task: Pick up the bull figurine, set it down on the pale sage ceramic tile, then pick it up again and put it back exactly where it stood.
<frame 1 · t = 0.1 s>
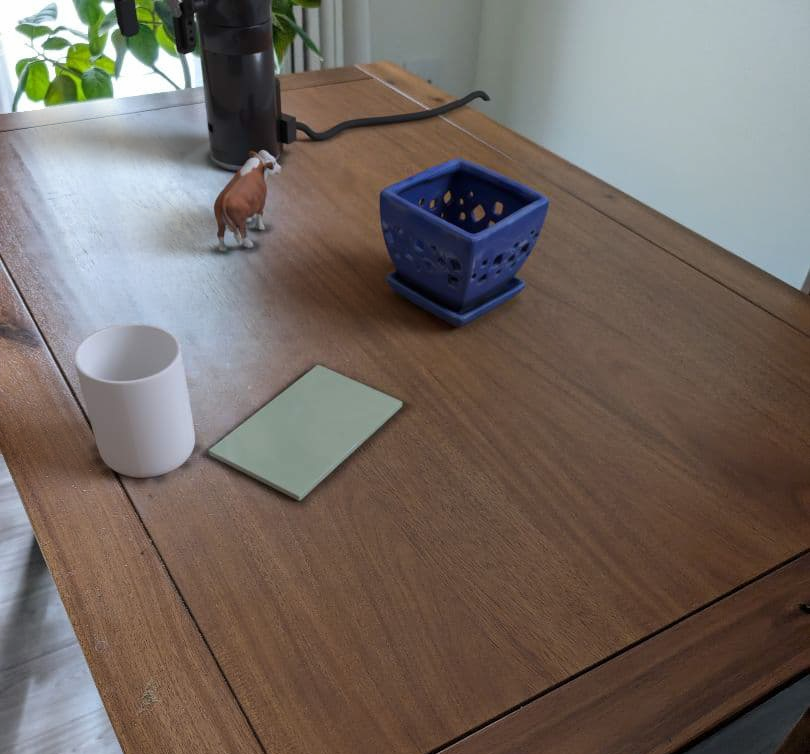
hand: (158, 43, 97), 17 cm above the table, tool pointing down, fingers open, 8 cm apart
cup: (151, 436, 77), on the table
bull figurine: (249, 235, 103), on the table
tile: (309, 429, 79), on the table
flower pot: (454, 298, 96), on the table
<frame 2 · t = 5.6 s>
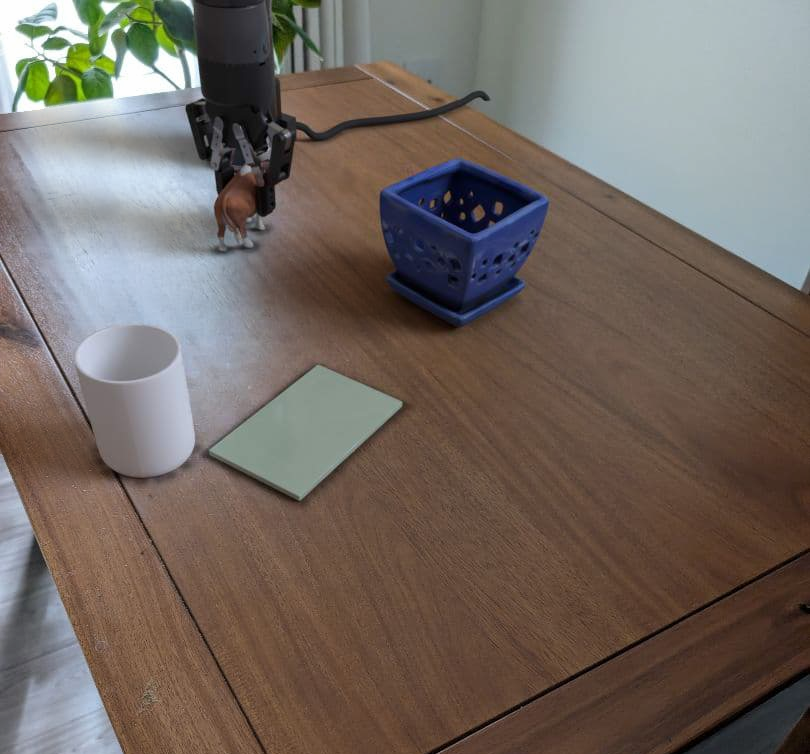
hand: (246, 206, 101), 3 cm above the table, tool pointing down, fingers closed on bull figurine, 5 cm apart
bull figurine: (249, 235, 103), on the table, touching gripper
everything else where it was.
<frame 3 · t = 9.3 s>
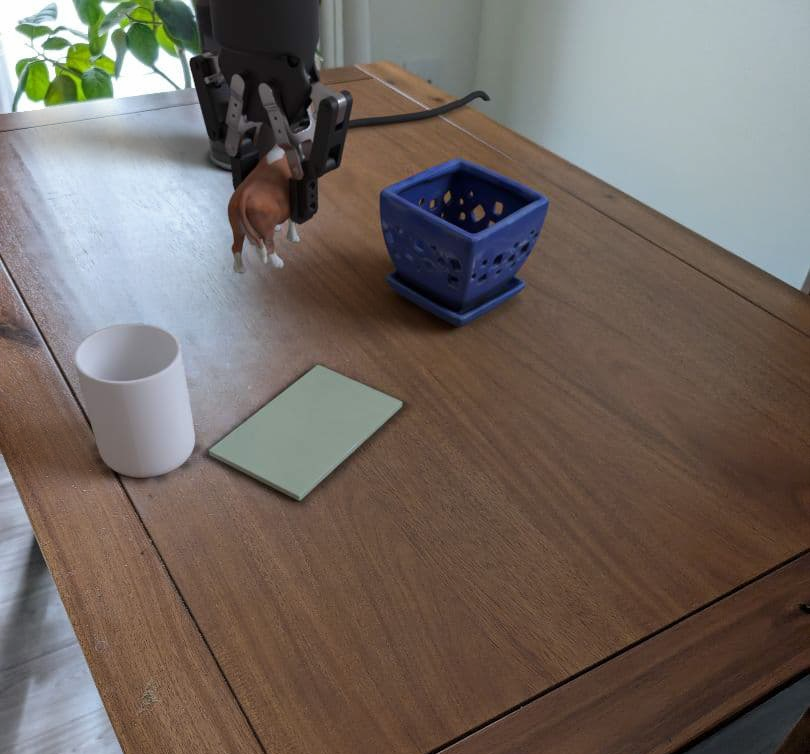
hand: (275, 208, 70), 18 cm above the table, tool pointing down, fingers closed on bull figurine, 5 cm apart
bull figurine: (277, 249, 72), point 14 cm above the table, touching gripper
everything else where it was.
when the fingers open (4 cm above the table, at t = 13.4 s): bull figurine stays where it is, resting on tile.
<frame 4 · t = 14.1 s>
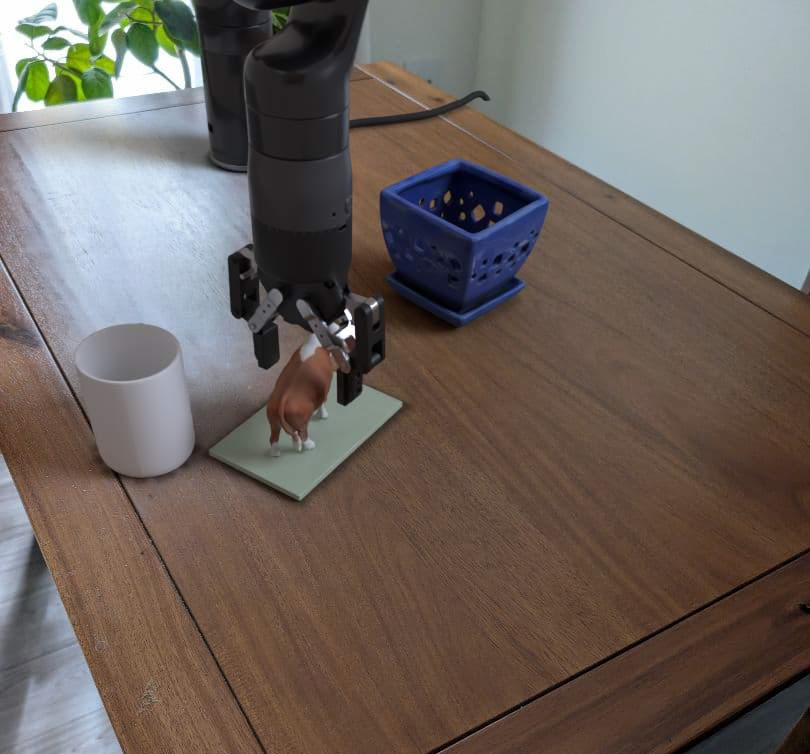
hand: (308, 382, 75), 5 cm above the table, tool pointing down, fingers open, 8 cm apart
bull figurine: (308, 426, 79), resting on tile
everything else where it was.
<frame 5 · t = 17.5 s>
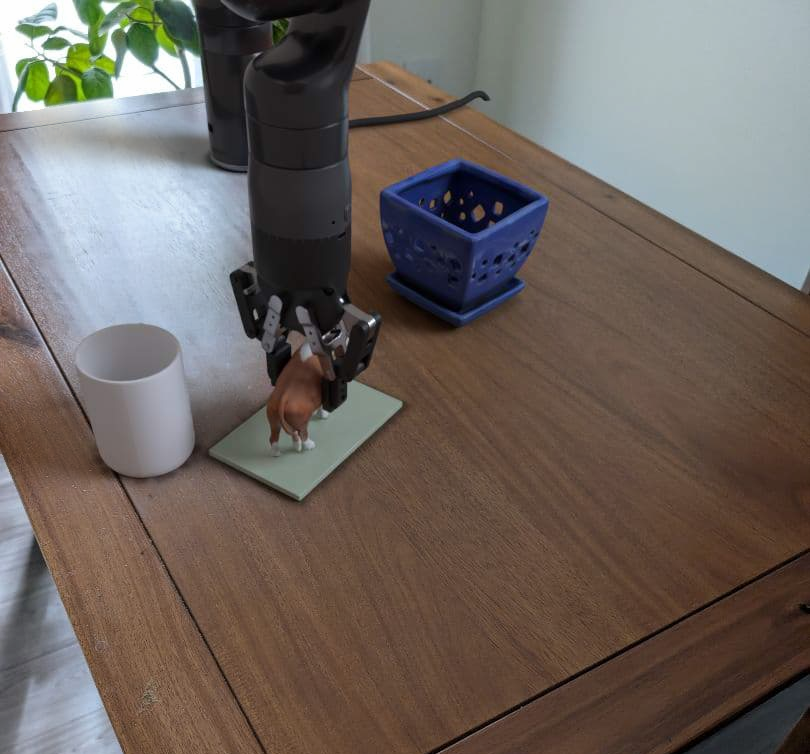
hand: (307, 394, 76), 4 cm above the table, tool pointing down, fingers closed on bull figurine, 5 cm apart
bull figurine: (308, 426, 79), resting on tile, touching gripper
everything else where it was.
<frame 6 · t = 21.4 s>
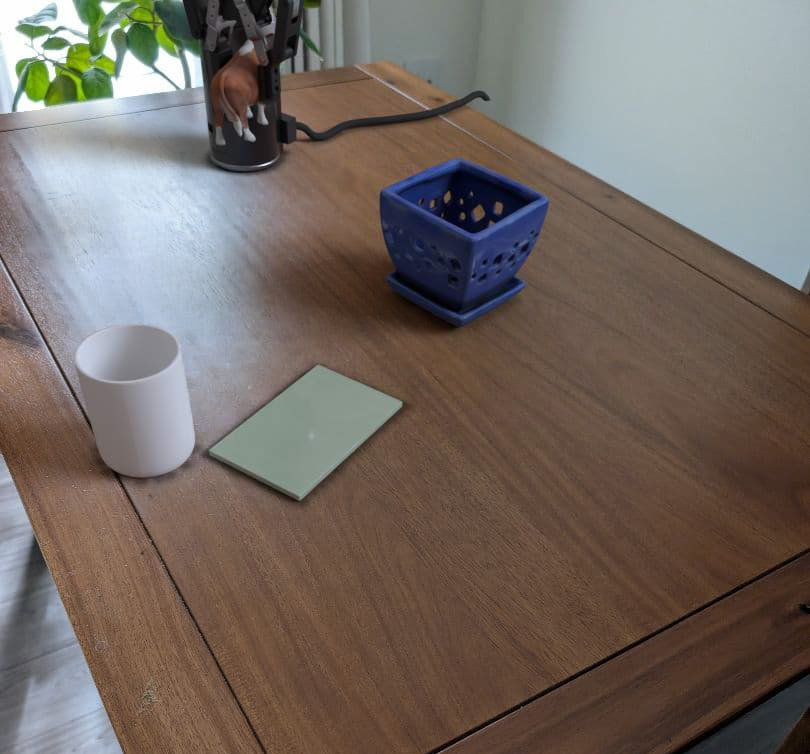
hand: (247, 94, 88), 17 cm above the table, tool pointing down, fingers closed on bull figurine, 5 cm apart
bull figurine: (250, 130, 91), point 14 cm above the table, touching gripper
everything else where it was.
when the fingers open (3 cm above the table, at t = 25.4 s): bull figurine stays where it is, on the table.
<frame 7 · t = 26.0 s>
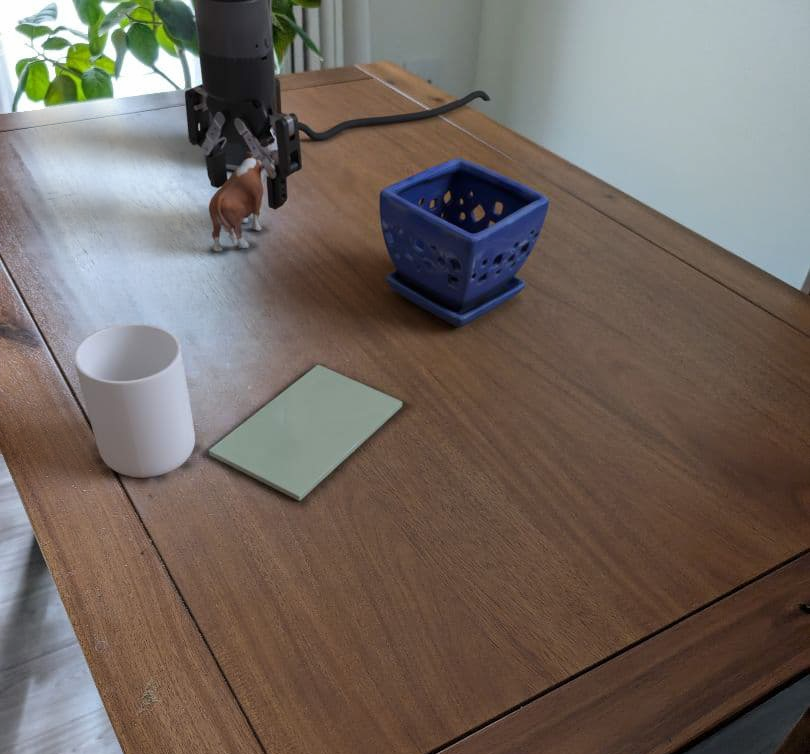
hand: (248, 195, 100), 5 cm above the table, tool pointing down, fingers open, 8 cm apart
bull figurine: (245, 235, 103), on the table
everything else where it was.
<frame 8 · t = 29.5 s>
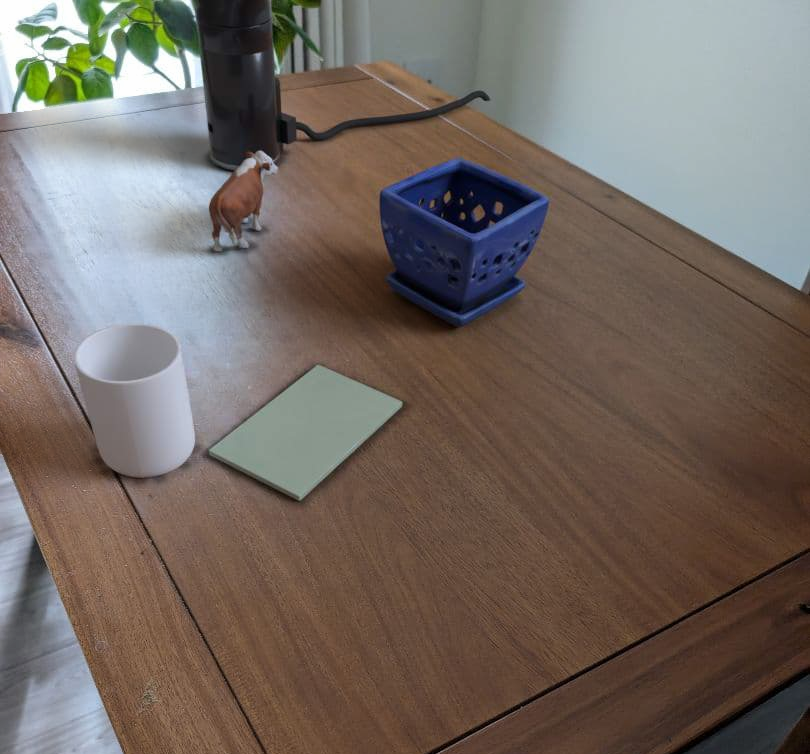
nothing on the table moved.
at the end: bull figurine 0.5 cm from the target spot, on the table; bull figurine tilted 0°; bull figurine touching table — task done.
